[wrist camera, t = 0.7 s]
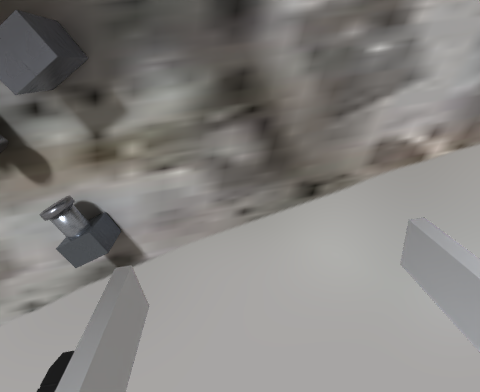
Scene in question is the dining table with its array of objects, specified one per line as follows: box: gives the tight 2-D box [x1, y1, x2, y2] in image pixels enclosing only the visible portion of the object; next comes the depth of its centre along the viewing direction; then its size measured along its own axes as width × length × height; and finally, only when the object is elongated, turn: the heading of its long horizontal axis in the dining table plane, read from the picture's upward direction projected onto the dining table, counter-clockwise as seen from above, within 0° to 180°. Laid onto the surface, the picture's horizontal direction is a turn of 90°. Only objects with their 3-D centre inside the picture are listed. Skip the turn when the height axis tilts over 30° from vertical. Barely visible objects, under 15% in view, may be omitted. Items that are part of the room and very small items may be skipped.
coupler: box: [0, 10, 88, 95], centre depth 25 cm, size 6×4×6 cm
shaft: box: [40, 196, 121, 268], centre depth 34 cm, size 8×5×5 cm, turn 26°
